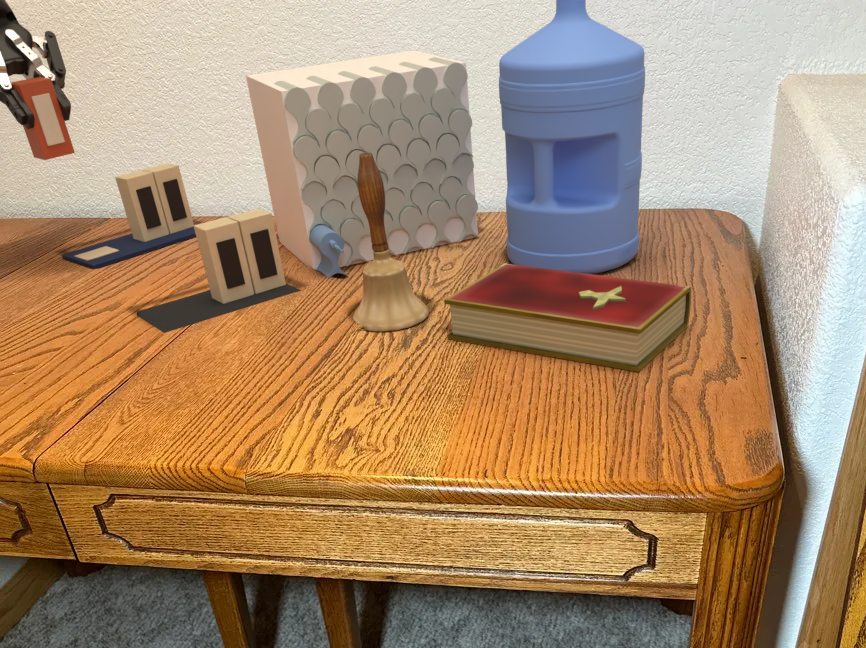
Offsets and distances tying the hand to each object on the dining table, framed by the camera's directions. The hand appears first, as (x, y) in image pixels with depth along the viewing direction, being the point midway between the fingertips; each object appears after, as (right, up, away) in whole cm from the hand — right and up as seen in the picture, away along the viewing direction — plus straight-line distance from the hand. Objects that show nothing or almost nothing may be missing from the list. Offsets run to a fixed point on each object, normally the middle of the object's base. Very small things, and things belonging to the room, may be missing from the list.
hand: (49, 119), depth 109 cm
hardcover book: (+61, -32, -18) cm, 71 cm away
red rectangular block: (-1, -2, +4) cm, 5 cm away
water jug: (+63, -17, 0) cm, 65 cm away
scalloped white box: (+40, -12, +9) cm, 42 cm away
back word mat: (+4, -8, +18) cm, 20 cm away
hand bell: (+42, -28, -11) cm, 52 cm away
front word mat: (+22, -24, -4) cm, 32 cm away
